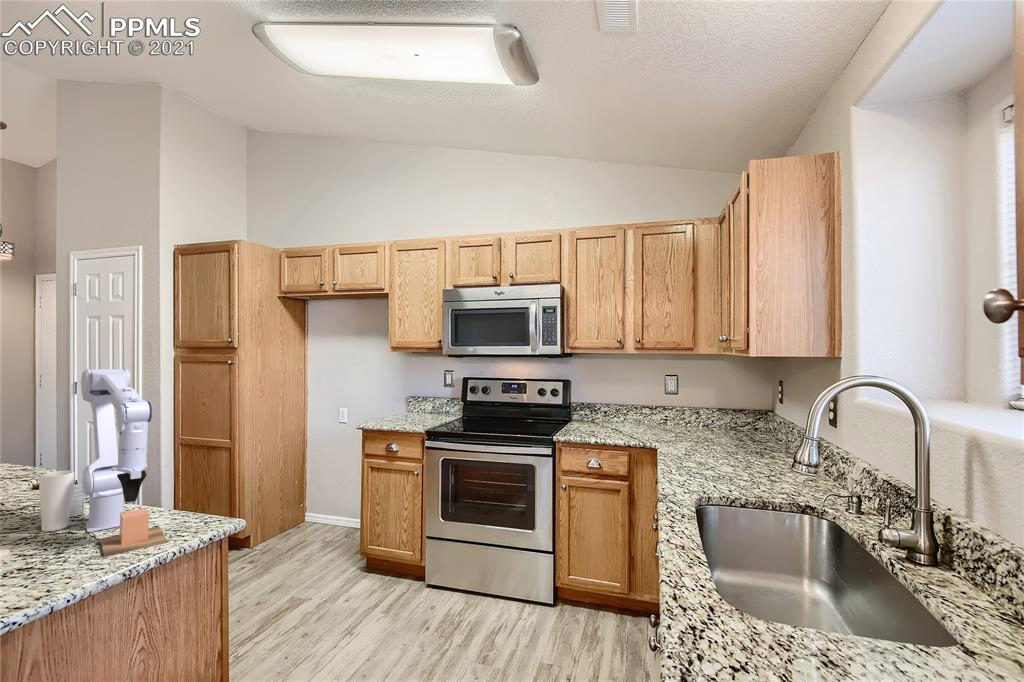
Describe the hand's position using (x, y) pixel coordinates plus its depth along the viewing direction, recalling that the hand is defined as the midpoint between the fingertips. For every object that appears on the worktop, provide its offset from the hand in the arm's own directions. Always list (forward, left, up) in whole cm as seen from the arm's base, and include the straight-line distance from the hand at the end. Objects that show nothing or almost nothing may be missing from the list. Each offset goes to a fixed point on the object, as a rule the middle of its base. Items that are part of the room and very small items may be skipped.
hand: (130, 501), depth 116 cm
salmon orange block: (+1, +1, -10) cm, 10 cm away
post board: (+1, +1, -10) cm, 10 cm away
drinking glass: (-24, -13, -11) cm, 29 cm away
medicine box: (-34, -11, -11) cm, 37 cm away
